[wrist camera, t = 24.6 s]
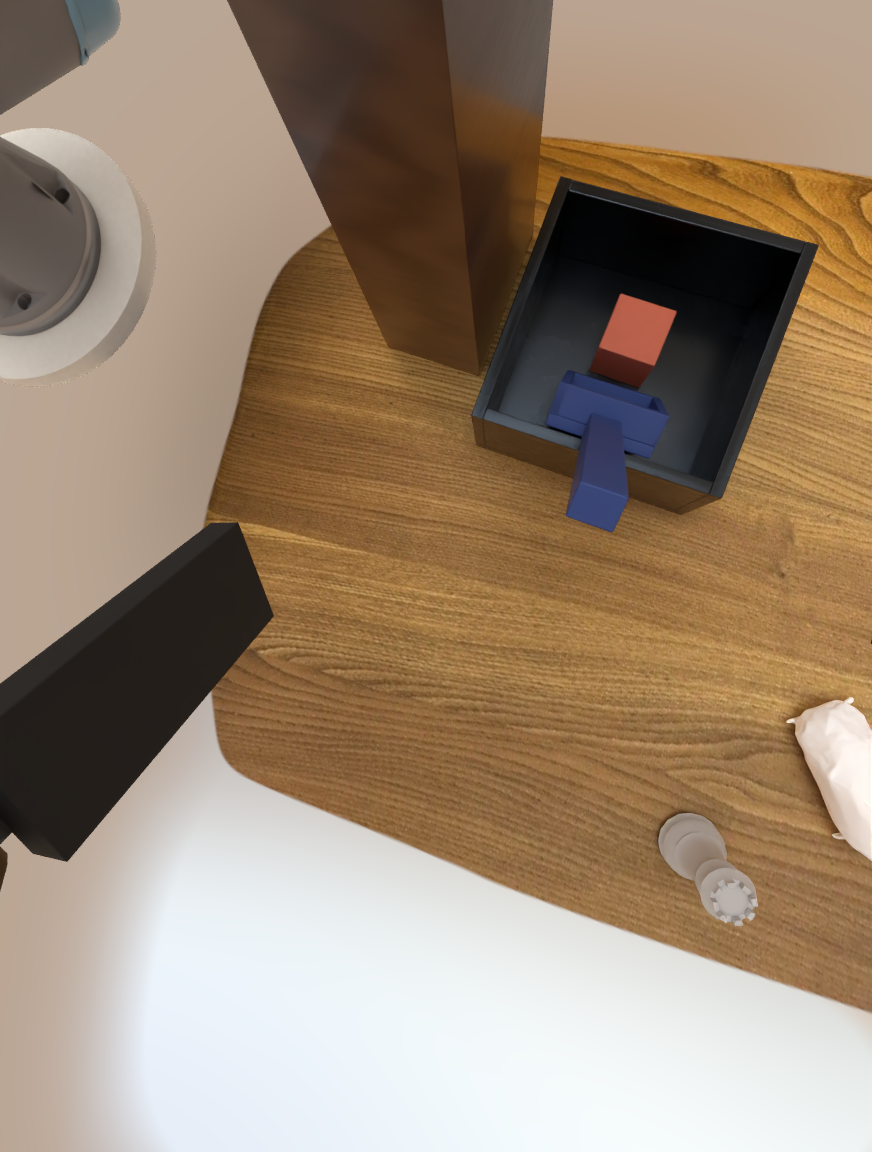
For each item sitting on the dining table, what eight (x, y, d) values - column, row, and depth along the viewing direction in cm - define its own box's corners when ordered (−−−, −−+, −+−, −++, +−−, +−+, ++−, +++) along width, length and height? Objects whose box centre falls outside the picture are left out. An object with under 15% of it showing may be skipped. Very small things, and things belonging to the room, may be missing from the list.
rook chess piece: (719, 812, 39) (775, 869, 31) (718, 873, 39) (774, 946, 31) (656, 807, 39) (696, 862, 31) (655, 867, 39) (694, 938, 31)
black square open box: (476, 445, 42) (471, 415, 34) (550, 248, 41) (560, 175, 34) (681, 515, 40) (722, 498, 32) (760, 308, 39) (819, 244, 32)
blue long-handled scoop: (506, 496, 22) (529, 430, 20) (554, 406, 40) (568, 369, 39) (673, 555, 21) (710, 490, 19) (643, 435, 39) (660, 398, 38)
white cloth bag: (890, 798, 39) (849, 683, 37) (959, 873, 32) (914, 738, 30) (817, 815, 40) (774, 704, 38) (869, 890, 34) (821, 761, 32)
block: (608, 322, 40) (588, 371, 40) (620, 292, 36) (598, 347, 36) (659, 339, 39) (639, 388, 40) (677, 310, 35) (654, 365, 36)
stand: (388, 346, 43) (130, -206, 13) (439, 207, 43) (296, -676, 13) (479, 376, 42) (426, -150, 12) (532, 233, 42) (612, -660, 12)
